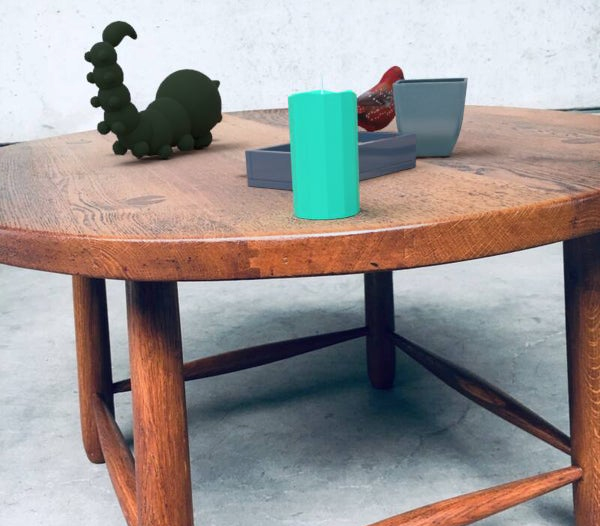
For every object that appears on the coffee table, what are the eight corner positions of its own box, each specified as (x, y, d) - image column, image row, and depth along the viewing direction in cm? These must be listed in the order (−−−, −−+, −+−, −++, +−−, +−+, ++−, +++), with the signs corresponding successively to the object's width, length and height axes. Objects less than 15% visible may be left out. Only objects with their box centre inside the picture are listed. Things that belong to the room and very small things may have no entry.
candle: (341, 221, 78) (336, 74, 74) (282, 217, 81) (273, 76, 76) (370, 208, 83) (367, 70, 78) (313, 205, 86) (307, 71, 81)
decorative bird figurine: (413, 136, 133) (413, 64, 129) (337, 152, 121) (335, 73, 117) (397, 136, 134) (397, 64, 131) (321, 151, 122) (318, 73, 119)
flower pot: (466, 149, 117) (467, 76, 113) (465, 159, 109) (467, 80, 105) (398, 151, 118) (397, 79, 115) (393, 161, 110) (392, 83, 107)
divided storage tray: (416, 167, 105) (415, 133, 104) (314, 192, 92) (312, 154, 91) (351, 162, 111) (350, 130, 110) (247, 186, 98) (244, 150, 97)
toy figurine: (142, 181, 117) (251, 139, 135) (114, 24, 109) (235, 2, 127) (90, 178, 122) (202, 137, 140) (59, 28, 113) (183, 6, 132)
